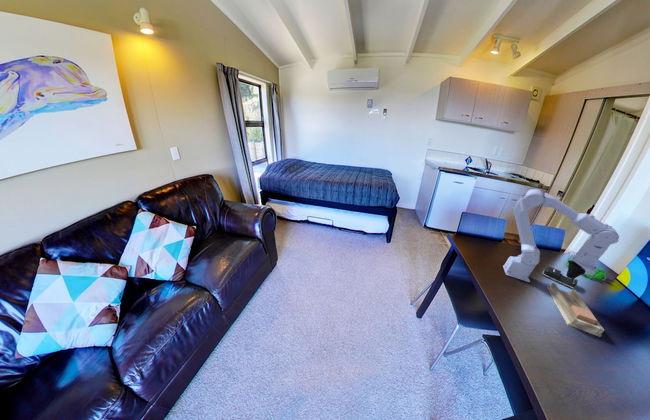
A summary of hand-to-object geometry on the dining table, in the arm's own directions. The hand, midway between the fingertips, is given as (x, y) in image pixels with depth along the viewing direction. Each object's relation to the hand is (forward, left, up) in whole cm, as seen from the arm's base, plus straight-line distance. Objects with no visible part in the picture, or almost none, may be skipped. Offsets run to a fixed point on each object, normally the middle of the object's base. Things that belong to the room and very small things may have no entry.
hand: (569, 277), depth 90 cm
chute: (+1, -10, -9) cm, 14 cm away
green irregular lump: (+20, +30, -10) cm, 37 cm away
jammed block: (+1, -16, -8) cm, 18 cm away
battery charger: (+9, +10, -8) cm, 15 cm away
